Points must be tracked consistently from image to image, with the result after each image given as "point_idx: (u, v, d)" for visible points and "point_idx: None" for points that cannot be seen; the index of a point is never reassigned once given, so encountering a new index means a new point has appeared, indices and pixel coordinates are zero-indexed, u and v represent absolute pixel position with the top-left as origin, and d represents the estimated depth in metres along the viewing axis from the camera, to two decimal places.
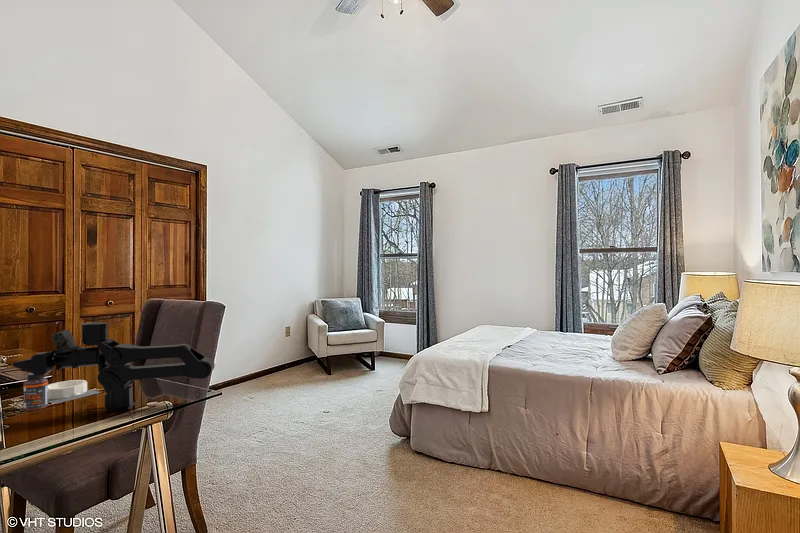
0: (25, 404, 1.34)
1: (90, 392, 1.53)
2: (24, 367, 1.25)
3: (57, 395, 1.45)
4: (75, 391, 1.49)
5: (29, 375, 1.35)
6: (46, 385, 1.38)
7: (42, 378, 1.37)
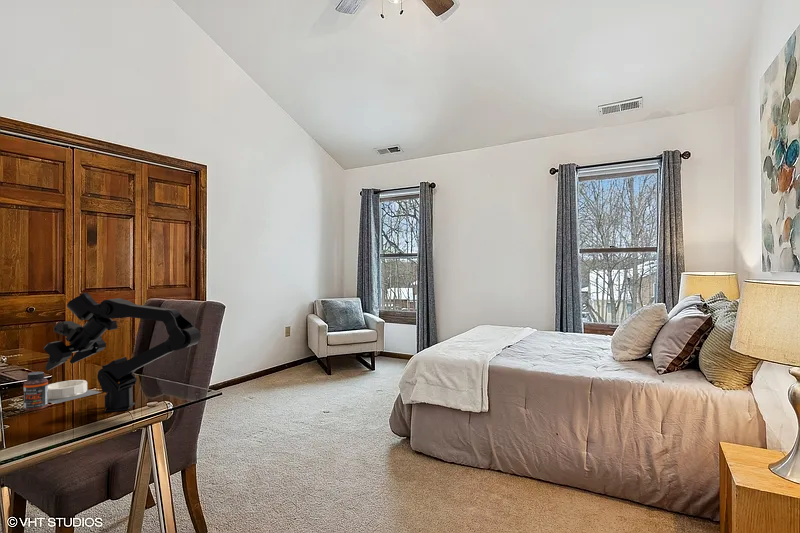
0: (25, 404, 1.34)
1: (90, 392, 1.53)
2: (53, 364, 1.31)
3: (57, 395, 1.45)
4: (75, 391, 1.49)
5: (29, 375, 1.35)
6: (46, 385, 1.38)
7: (42, 378, 1.37)
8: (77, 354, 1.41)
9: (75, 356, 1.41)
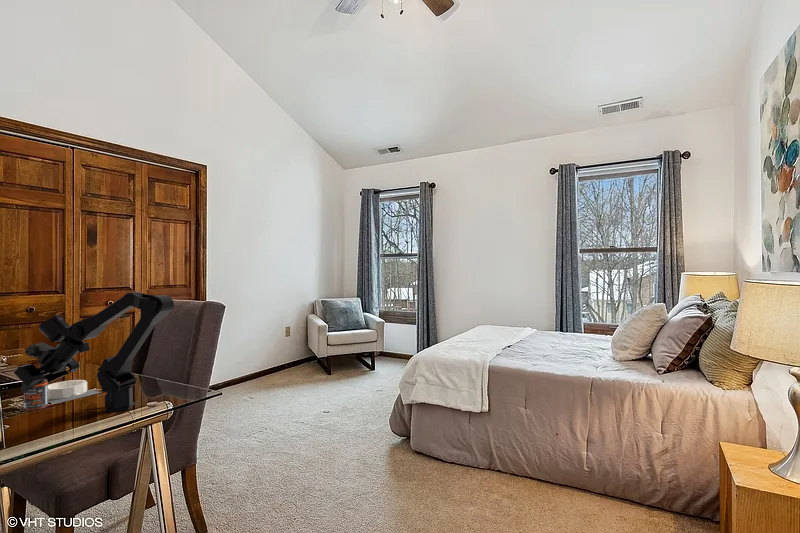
0: (25, 404, 1.34)
1: (90, 392, 1.53)
2: (28, 386, 1.33)
3: (57, 395, 1.45)
4: (75, 391, 1.49)
5: None
6: (46, 385, 1.38)
7: None
8: (47, 376, 1.40)
9: None
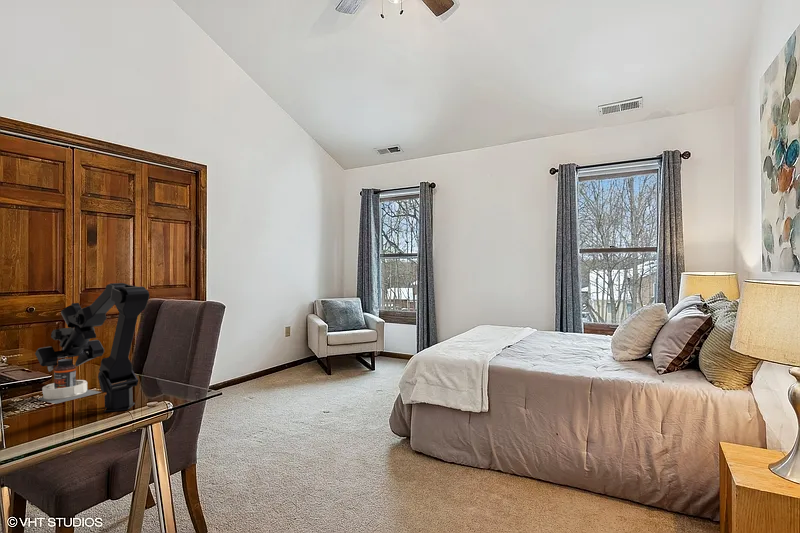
0: (54, 387, 1.49)
1: (90, 392, 1.53)
2: (49, 367, 1.46)
3: (57, 395, 1.45)
4: (75, 391, 1.49)
5: (58, 361, 1.49)
6: (71, 372, 1.50)
7: (68, 365, 1.50)
8: (79, 358, 1.55)
9: (78, 360, 1.55)
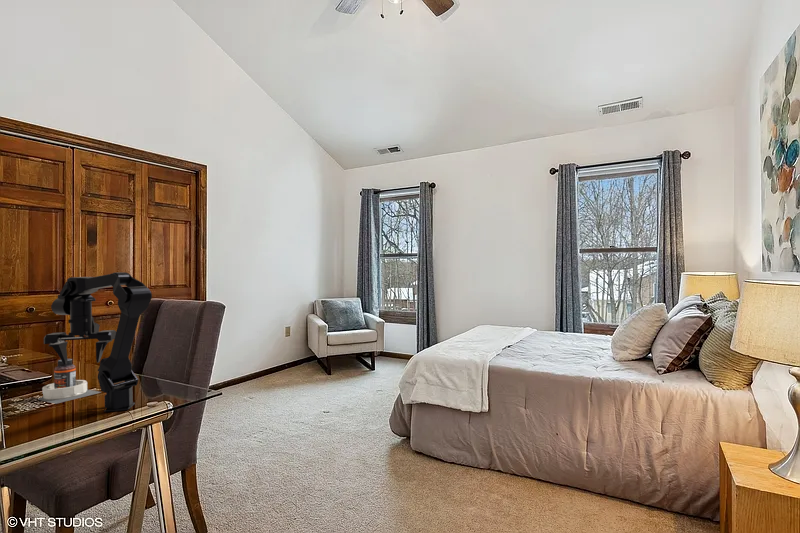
0: (54, 387, 1.49)
1: (90, 392, 1.53)
2: None
3: (57, 395, 1.45)
4: (75, 391, 1.49)
5: (58, 361, 1.49)
6: (71, 372, 1.50)
7: (68, 365, 1.50)
8: None
9: None
